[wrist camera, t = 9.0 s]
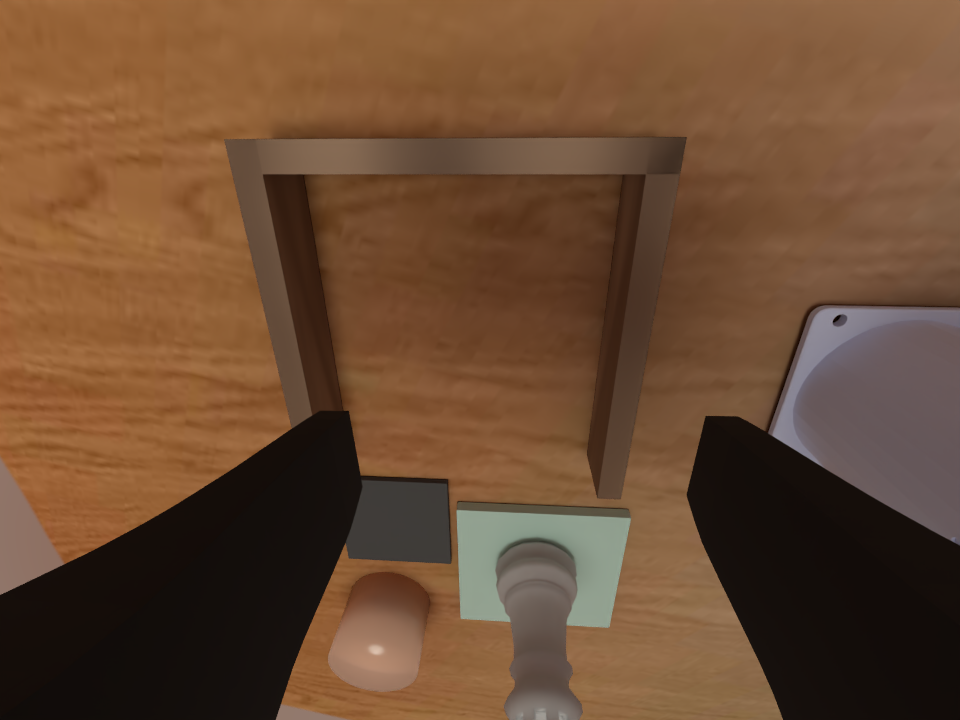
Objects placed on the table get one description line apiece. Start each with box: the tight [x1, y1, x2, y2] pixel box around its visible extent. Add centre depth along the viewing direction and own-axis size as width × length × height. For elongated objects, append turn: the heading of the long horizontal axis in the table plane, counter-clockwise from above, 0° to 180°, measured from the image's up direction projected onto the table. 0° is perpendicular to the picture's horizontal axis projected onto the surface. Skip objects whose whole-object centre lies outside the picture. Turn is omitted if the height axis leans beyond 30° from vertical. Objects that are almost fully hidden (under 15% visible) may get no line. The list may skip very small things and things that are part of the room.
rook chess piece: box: [495, 541, 583, 720], centre depth 21 cm, size 4×4×8 cm
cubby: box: [224, 137, 687, 499], centre depth 18 cm, size 14×14×3 cm
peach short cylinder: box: [328, 572, 430, 692], centre depth 26 cm, size 5×5×4 cm
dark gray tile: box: [346, 476, 451, 564], centre depth 25 cm, size 6×6×1 cm
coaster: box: [457, 502, 631, 628], centre depth 25 cm, size 9×9×1 cm
